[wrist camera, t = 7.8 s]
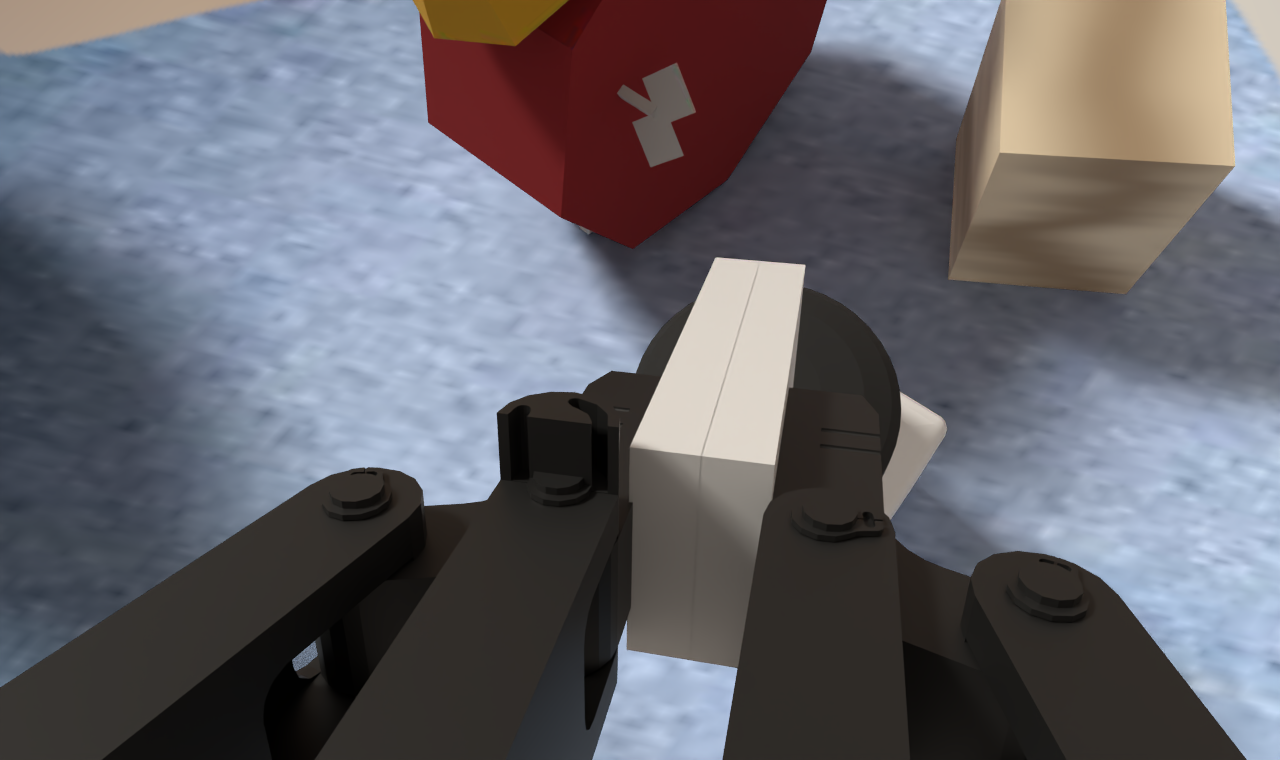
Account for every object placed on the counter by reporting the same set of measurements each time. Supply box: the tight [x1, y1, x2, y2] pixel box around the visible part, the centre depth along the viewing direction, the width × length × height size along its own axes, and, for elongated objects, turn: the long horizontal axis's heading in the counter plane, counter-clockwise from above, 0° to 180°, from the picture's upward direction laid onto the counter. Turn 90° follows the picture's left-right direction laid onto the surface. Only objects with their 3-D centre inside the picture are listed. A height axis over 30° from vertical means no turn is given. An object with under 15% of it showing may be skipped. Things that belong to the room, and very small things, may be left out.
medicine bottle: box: [636, 287, 947, 520], centre depth 25 cm, size 7×7×12 cm
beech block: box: [948, 0, 1235, 294], centre depth 29 cm, size 6×6×8 cm
